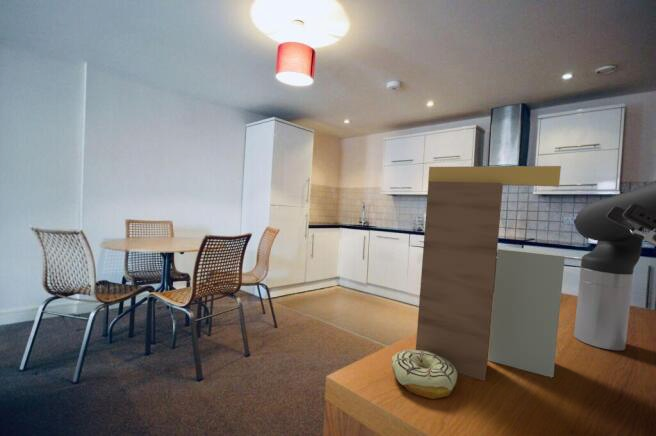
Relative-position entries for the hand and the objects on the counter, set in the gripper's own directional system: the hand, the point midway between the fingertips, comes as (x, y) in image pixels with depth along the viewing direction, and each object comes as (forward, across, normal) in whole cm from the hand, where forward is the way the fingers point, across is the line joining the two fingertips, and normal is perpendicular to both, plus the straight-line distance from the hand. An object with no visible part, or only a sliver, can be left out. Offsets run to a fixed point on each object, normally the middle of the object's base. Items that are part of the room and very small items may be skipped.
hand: (617, 210), depth 48 cm
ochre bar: (+18, 0, +6) cm, 18 cm away
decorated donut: (+7, +9, +39) cm, 41 cm away
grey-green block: (-6, -10, +32) cm, 34 cm away
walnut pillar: (+4, -1, +37) cm, 37 cm away
